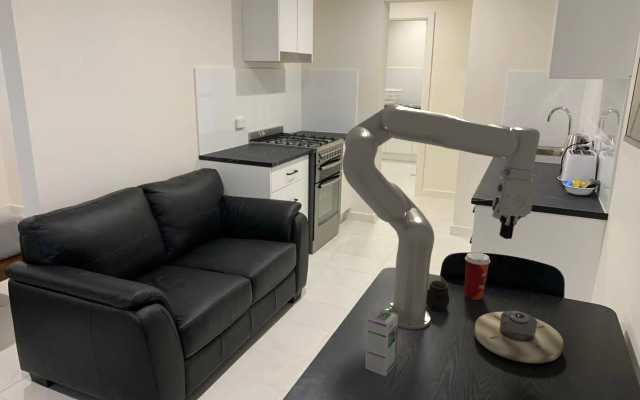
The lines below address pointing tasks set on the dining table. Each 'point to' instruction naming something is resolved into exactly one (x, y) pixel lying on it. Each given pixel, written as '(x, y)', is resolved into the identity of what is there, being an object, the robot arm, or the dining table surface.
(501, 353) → the turntable
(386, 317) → the syrup box
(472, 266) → the paper cup
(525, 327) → the cover
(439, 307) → the mate gourd
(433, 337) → the dining table surface
